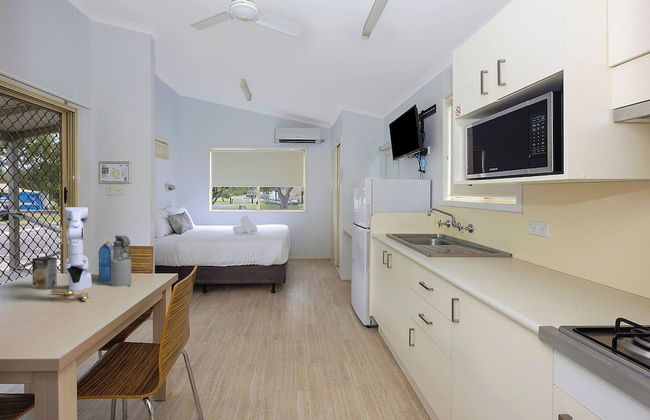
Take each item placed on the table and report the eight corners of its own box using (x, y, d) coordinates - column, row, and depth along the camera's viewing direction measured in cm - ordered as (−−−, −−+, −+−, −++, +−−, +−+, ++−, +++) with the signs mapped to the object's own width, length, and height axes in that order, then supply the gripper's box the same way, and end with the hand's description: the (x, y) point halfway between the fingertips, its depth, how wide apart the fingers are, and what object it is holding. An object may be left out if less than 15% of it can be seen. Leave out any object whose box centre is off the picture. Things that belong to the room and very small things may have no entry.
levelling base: (70, 295, 173) (70, 292, 173) (90, 299, 166) (90, 296, 166) (47, 300, 164) (47, 297, 164) (67, 305, 157) (67, 302, 157)
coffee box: (31, 288, 185) (31, 258, 184) (42, 285, 191) (42, 256, 191) (47, 289, 184) (46, 259, 184) (57, 286, 191) (57, 257, 190)
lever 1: (76, 293, 172) (75, 288, 172) (70, 295, 168) (70, 291, 168) (54, 293, 172) (54, 288, 172) (47, 295, 168) (47, 290, 168)
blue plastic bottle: (98, 282, 200) (98, 239, 199) (102, 277, 211) (101, 236, 210) (111, 281, 202) (110, 238, 201) (114, 277, 213) (113, 236, 212)
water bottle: (135, 285, 194) (135, 235, 193) (119, 289, 185) (118, 237, 184) (123, 283, 198) (123, 234, 197) (106, 287, 189) (106, 236, 188)
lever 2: (77, 297, 166) (77, 292, 166) (87, 296, 168) (87, 291, 168) (79, 302, 158) (79, 297, 158) (90, 301, 160) (90, 296, 160)
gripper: (56, 253, 160) (57, 282, 161) (76, 256, 154) (76, 286, 155) (73, 251, 167) (73, 279, 167) (92, 254, 161) (92, 282, 161)
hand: (76, 282), depth 162 cm, fingers closed
